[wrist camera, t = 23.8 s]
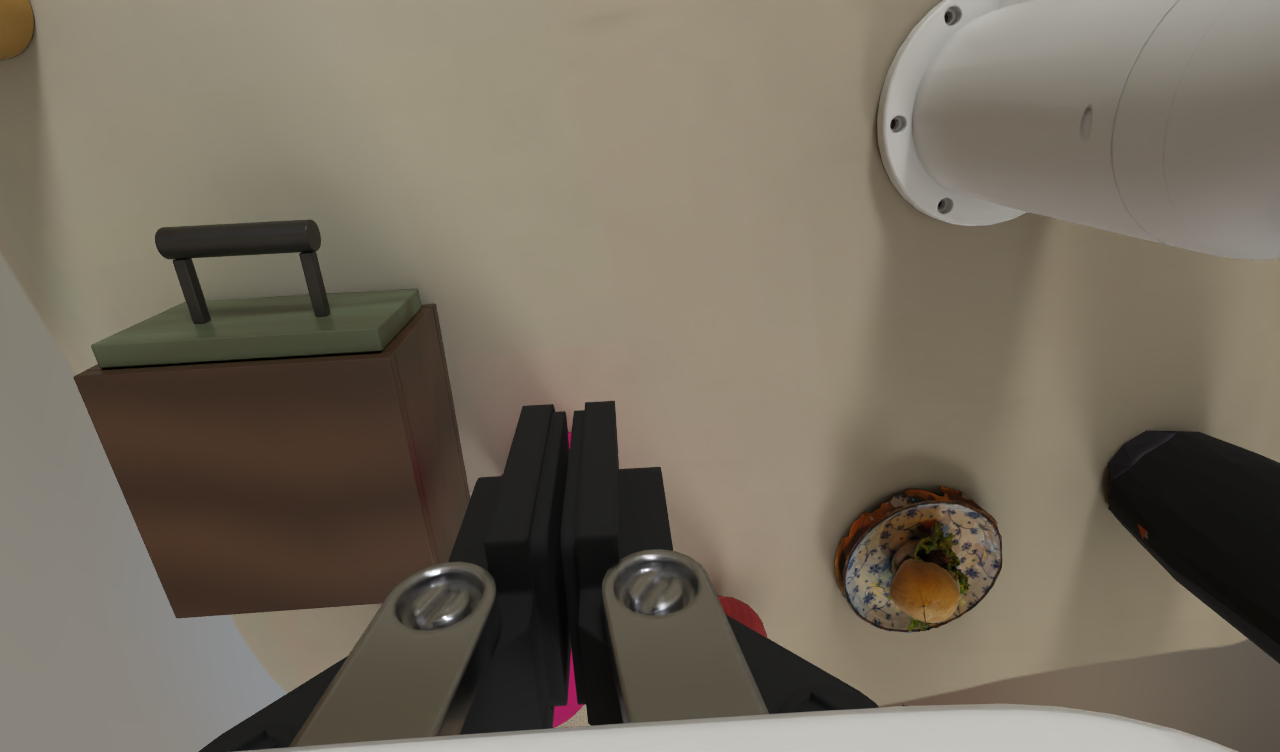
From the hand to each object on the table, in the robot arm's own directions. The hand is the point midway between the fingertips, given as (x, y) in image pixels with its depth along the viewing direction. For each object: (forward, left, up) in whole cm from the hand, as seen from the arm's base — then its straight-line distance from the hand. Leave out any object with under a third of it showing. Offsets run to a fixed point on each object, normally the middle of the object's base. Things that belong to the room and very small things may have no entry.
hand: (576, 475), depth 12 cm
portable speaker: (+2, +43, -27) cm, 51 cm away
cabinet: (+17, -11, -27) cm, 34 cm away
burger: (+14, +30, -27) cm, 43 cm away
